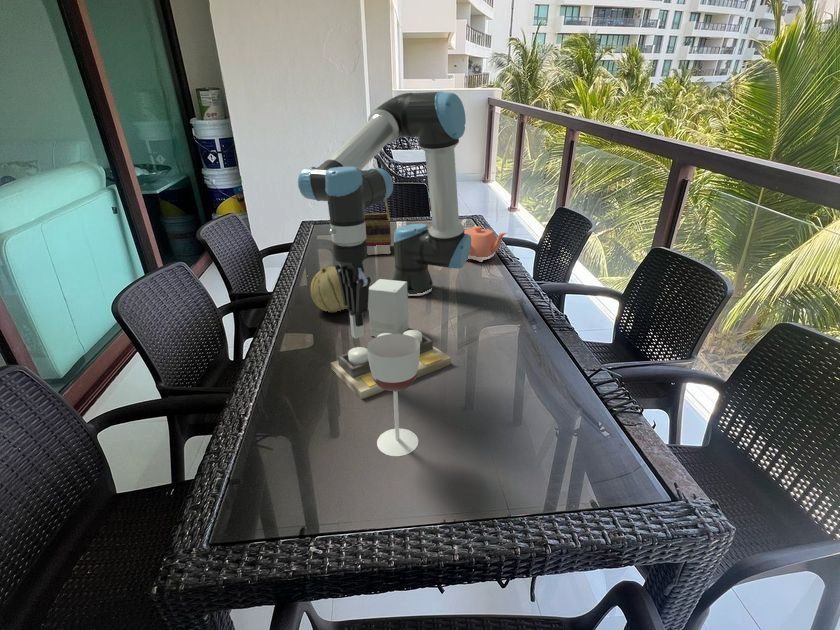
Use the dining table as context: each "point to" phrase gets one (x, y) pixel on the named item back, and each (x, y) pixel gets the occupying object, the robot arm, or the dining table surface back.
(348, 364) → the board
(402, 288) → the supplement box
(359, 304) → the robot arm
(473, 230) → the teapot
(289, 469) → the dining table surface
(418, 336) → the button
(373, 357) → the wineglass
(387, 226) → the basket
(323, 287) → the cantaloupe
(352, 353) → the button
